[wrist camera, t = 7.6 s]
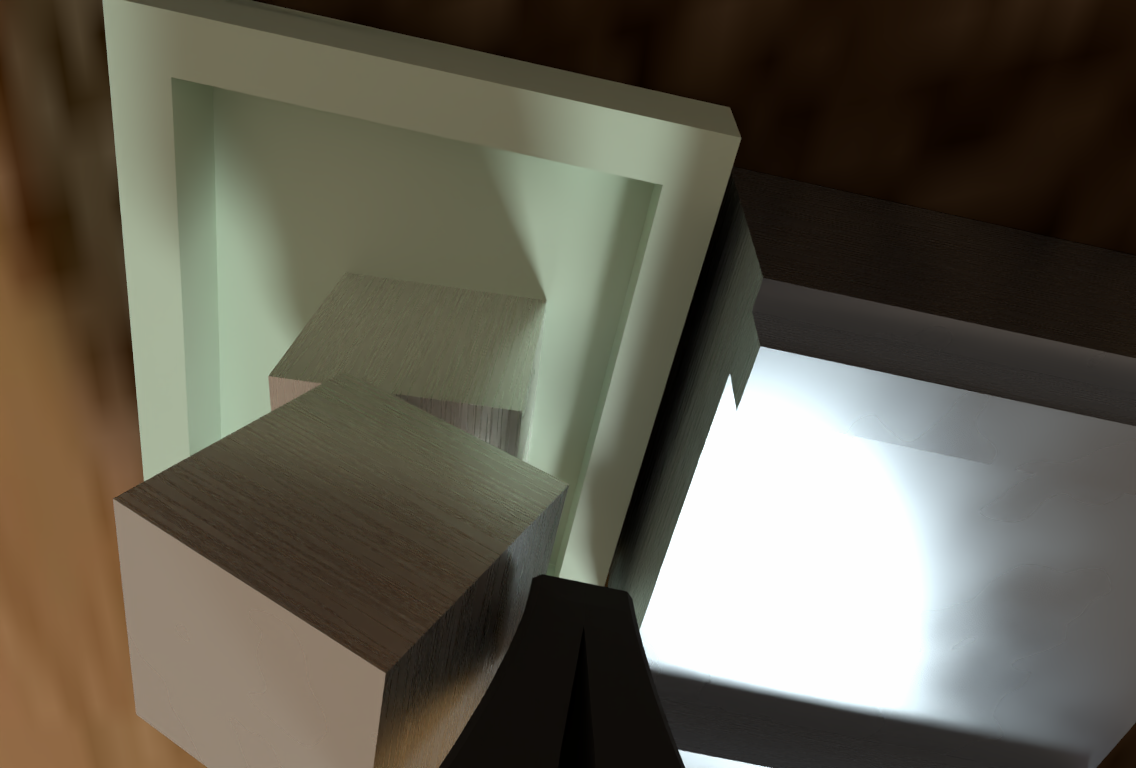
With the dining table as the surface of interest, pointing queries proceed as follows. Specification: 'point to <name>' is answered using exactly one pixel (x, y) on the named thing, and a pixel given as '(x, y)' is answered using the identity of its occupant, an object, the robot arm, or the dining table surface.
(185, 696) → the chip
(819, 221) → the slot block
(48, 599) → the dining table surface
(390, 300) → the chip
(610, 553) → the tray
